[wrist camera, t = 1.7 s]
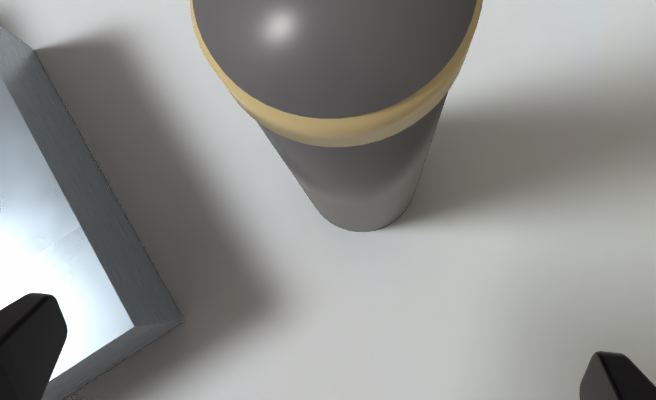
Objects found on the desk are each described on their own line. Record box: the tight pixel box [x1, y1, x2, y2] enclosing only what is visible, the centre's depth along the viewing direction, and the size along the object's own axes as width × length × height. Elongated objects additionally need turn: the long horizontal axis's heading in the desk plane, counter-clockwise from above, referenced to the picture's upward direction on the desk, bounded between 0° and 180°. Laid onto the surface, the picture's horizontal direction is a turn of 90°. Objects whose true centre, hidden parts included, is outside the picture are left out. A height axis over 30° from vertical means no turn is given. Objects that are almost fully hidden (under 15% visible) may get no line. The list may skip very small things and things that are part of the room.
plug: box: [190, 0, 483, 232], centre depth 15 cm, size 5×5×14 cm
